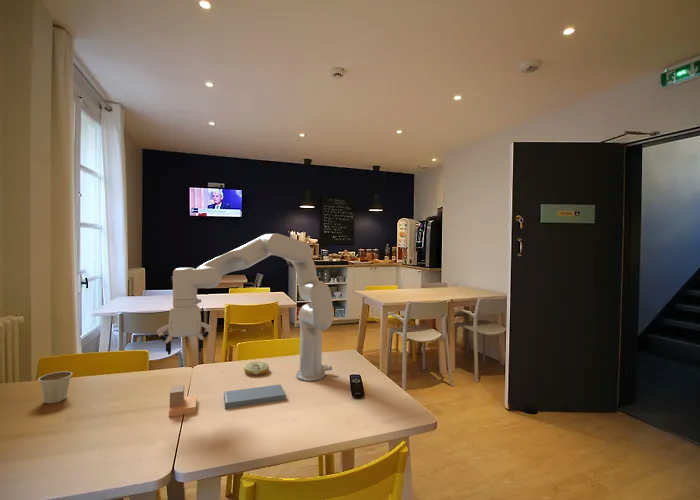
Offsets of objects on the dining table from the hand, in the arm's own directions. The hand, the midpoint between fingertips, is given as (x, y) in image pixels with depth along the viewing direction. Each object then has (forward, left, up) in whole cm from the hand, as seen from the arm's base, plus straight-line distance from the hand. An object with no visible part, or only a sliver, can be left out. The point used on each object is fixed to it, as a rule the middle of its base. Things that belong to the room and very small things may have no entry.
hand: (184, 352), depth 122 cm
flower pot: (+43, -20, -19) cm, 51 cm away
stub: (0, +2, -19) cm, 19 cm away
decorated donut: (-28, -25, -19) cm, 42 cm away
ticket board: (-24, +2, -19) cm, 30 cm away
